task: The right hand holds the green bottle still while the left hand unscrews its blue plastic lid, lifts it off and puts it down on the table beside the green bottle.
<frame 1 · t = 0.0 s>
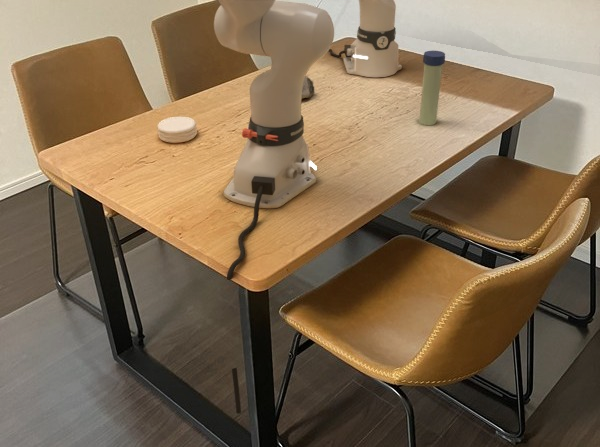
lid: (434, 54, 159), point 18 cm above the table, screwed on, not yet turned
rock: (290, 94, 188), on the table
white round tin: (178, 136, 163), on the table
green bottle: (427, 121, 169), on the table
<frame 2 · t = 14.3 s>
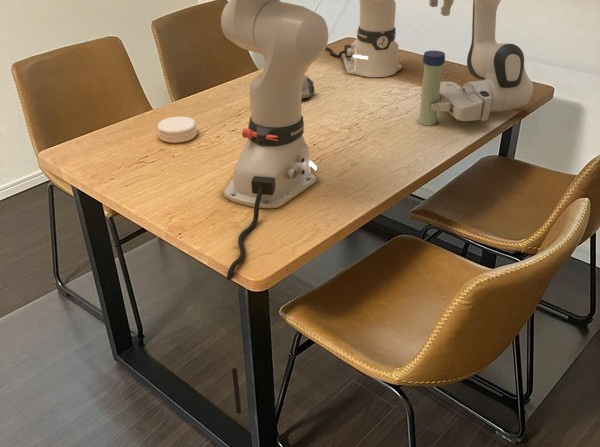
left hand: (439, 10, 153), 29 cm above the table, tool pointing down, fingers open, 8 cm apart
right hand: (426, 102, 166), 6 cm above the table, tool horizontal, fingers closed on green bottle, 4 cm apart
green bottle: (427, 121, 169), on the table, touching right hand
everything else where it was.
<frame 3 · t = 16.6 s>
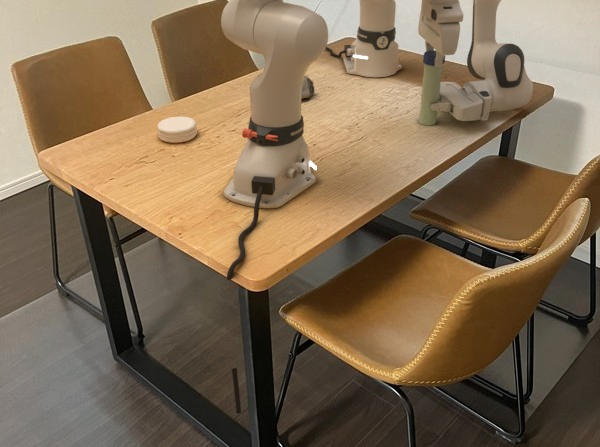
left hand: (433, 62, 160), 17 cm above the table, tool pointing down, fingers closed on lid, 5 cm apart
right hand: (426, 102, 166), 6 cm above the table, tool horizontal, fingers closed on green bottle, 4 cm apart
lid: (434, 54, 159), point 18 cm above the table, screwed on, not yet turned, touching left hand
green bottle: (427, 121, 169), on the table, touching right hand
everything else where it was.
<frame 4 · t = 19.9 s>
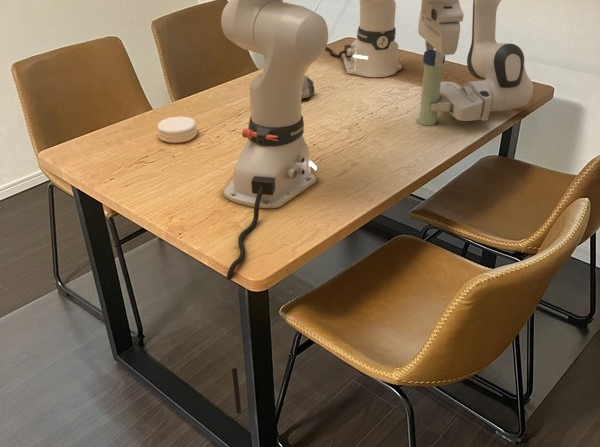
left hand: (433, 61, 160), 17 cm above the table, tool pointing down, fingers closed on lid, 5 cm apart
right hand: (426, 102, 166), 6 cm above the table, tool horizontal, fingers closed on green bottle, 4 cm apart
lid: (434, 54, 159), point 19 cm above the table, turned 93° so far, risen 0.1 cm, still on its thread, touching left hand
green bottle: (427, 121, 169), on the table, touching right hand
everything else where it was.
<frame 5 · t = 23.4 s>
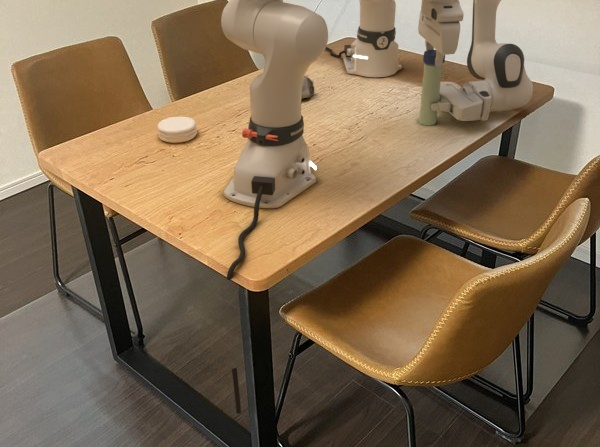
left hand: (433, 61, 160), 17 cm above the table, tool pointing down, fingers closed on lid, 5 cm apart
right hand: (426, 102, 166), 6 cm above the table, tool horizontal, fingers closed on green bottle, 4 cm apart
lid: (434, 54, 159), point 19 cm above the table, turned 186° so far, risen 0.2 cm, still on its thread, touching left hand
green bottle: (427, 122, 169), on the table, touching right hand
everything else where it was.
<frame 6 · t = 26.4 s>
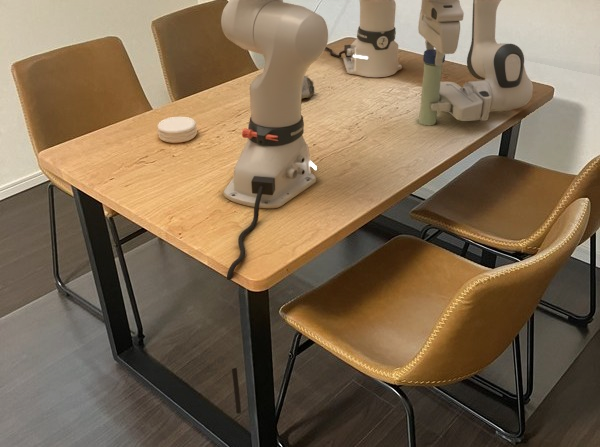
left hand: (433, 61, 160), 17 cm above the table, tool pointing down, fingers closed on lid, 5 cm apart
right hand: (426, 102, 166), 6 cm above the table, tool horizontal, fingers closed on green bottle, 4 cm apart
lid: (434, 53, 159), point 19 cm above the table, turned 278° so far, risen 0.3 cm, still on its thread, touching left hand
green bottle: (427, 122, 169), on the table, touching right hand
everything else where it was.
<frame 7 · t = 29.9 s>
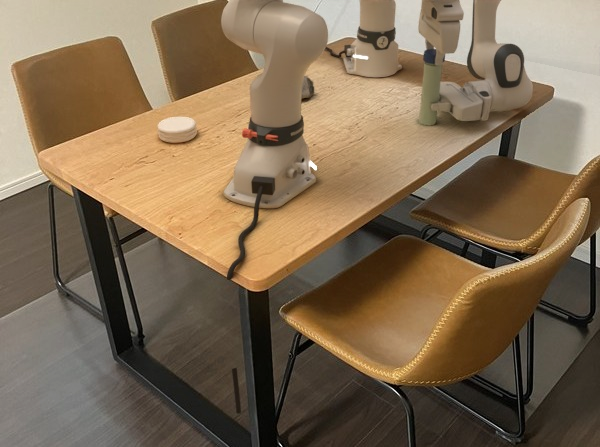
left hand: (433, 60, 160), 17 cm above the table, tool pointing down, fingers closed on lid, 5 cm apart
right hand: (426, 102, 166), 6 cm above the table, tool horizontal, fingers closed on green bottle, 4 cm apart
lid: (434, 53, 159), point 19 cm above the table, turned 371° so far, risen 0.4 cm, still on its thread, touching left hand
green bottle: (427, 122, 169), on the table, touching right hand
everything else where it was.
when the left hand's fingers open (2 cm above the table, at t = 39.5 s): lid drops 2 cm, point 2 cm above the table.
when the right hand's fingers open (6 cm above the table, at t = 40.5 s): green bottle stays where it is, on the table.
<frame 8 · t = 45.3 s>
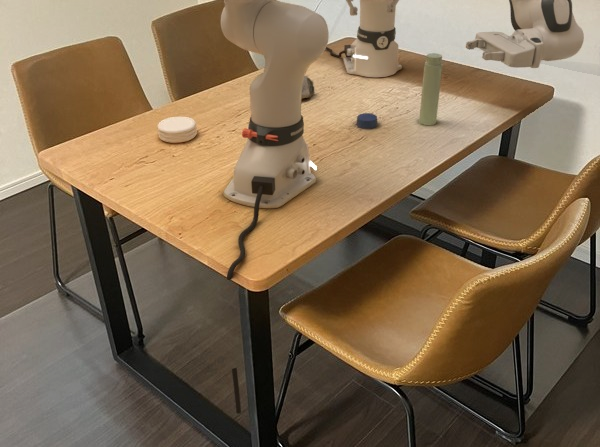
left hand: (372, 13, 152), 29 cm above the table, tool pointing down, fingers open, 8 cm apart
right hand: (475, 50, 161), 19 cm above the table, tool horizontal, fingers open, 8 cm apart
lid: (367, 118, 167), point 2 cm above the table, off its thread
green bottle: (427, 122, 169), on the table
everything else where it was.
at the end: lid came off its thread; lid point 1.9 cm above the table; the left hand is holding nothing; the right hand is holding nothing; green bottle tilted 0°; green bottle moved 0.0 cm from its start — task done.
